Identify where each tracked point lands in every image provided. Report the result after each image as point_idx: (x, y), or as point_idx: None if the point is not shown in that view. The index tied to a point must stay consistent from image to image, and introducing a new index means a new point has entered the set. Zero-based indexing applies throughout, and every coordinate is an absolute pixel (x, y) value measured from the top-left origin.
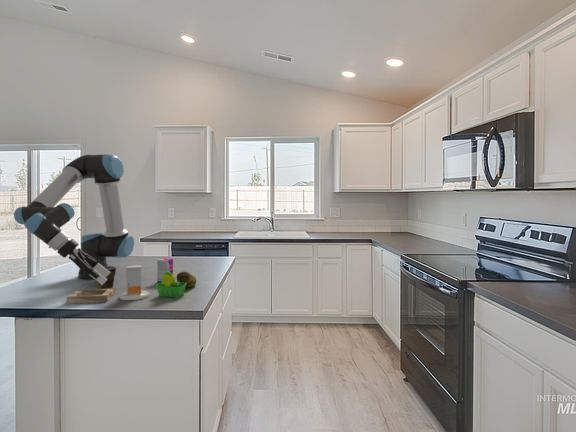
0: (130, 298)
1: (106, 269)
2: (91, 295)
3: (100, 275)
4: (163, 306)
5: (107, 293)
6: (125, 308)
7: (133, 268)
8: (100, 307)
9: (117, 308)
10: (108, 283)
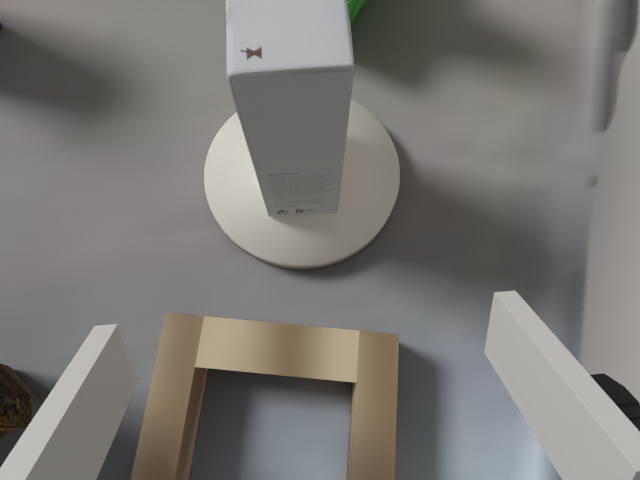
0: (397, 186)
1: (75, 372)
2: (362, 469)
3: (568, 359)
4: (545, 26)
5: (325, 342)
6: (565, 199)
7: (345, 13)
8: None
9: (561, 244)
10: (2, 390)
